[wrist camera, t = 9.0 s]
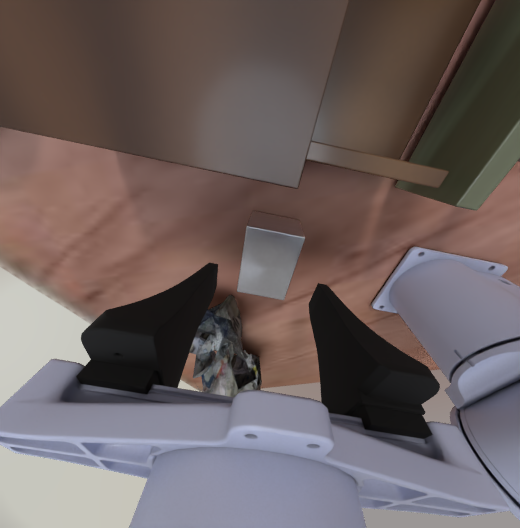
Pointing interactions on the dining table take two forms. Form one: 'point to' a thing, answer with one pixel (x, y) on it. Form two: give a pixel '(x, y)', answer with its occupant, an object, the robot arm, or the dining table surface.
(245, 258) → the silver metal block
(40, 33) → the cabinet
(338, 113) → the drawer
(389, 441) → the robot arm
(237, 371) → the foil
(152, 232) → the dining table surface
